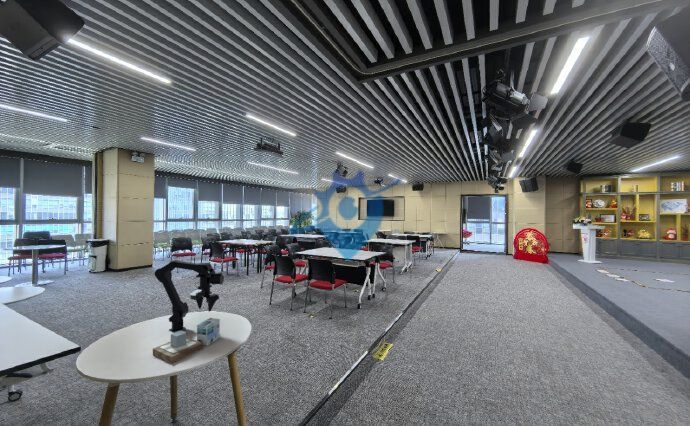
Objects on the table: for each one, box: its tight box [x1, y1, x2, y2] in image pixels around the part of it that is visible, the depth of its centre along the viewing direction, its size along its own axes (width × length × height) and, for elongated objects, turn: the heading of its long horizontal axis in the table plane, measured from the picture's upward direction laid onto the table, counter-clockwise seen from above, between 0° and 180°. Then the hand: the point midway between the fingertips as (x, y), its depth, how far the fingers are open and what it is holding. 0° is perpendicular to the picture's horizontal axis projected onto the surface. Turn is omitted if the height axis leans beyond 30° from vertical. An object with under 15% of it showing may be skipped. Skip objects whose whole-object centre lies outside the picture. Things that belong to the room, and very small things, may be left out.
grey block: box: [170, 330, 187, 348], centre depth 142 cm, size 5×5×6 cm
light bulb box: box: [196, 317, 221, 347], centre depth 154 cm, size 11×7×11 cm, turn 168°
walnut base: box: [152, 336, 204, 364], centre depth 142 cm, size 16×16×3 cm
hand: (204, 309), depth 168 cm, fingers open, 9 cm apart
